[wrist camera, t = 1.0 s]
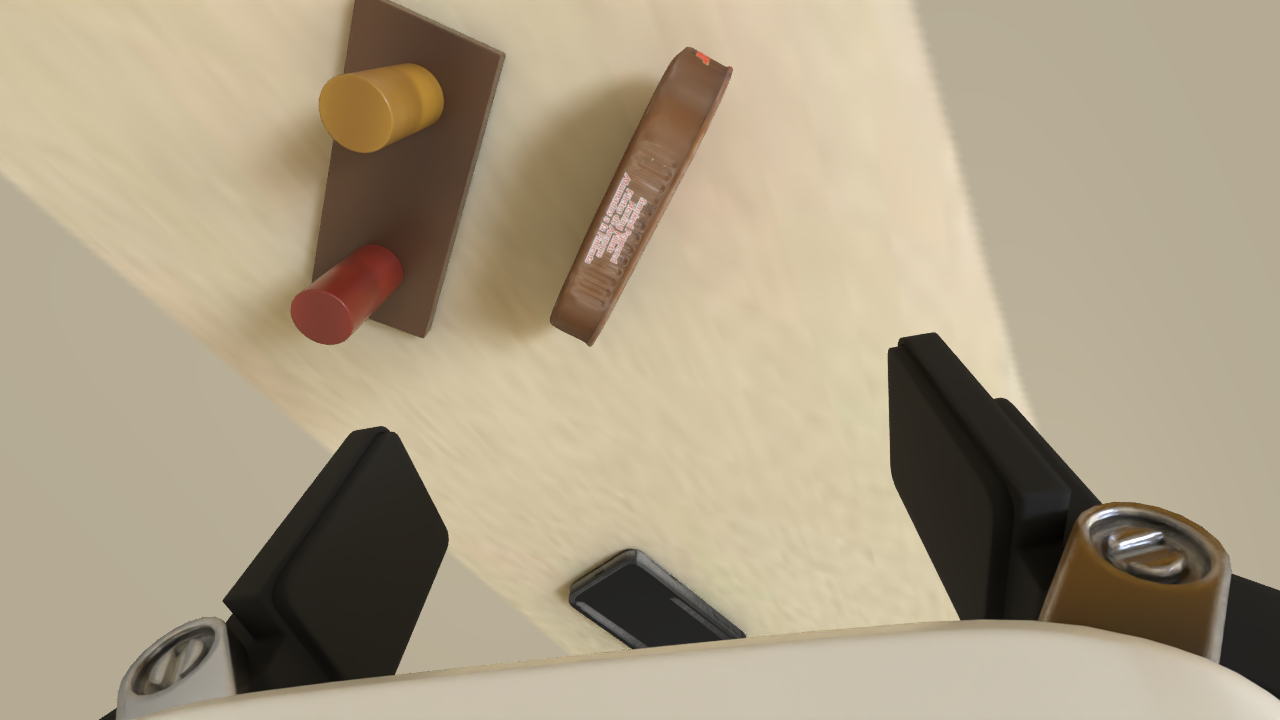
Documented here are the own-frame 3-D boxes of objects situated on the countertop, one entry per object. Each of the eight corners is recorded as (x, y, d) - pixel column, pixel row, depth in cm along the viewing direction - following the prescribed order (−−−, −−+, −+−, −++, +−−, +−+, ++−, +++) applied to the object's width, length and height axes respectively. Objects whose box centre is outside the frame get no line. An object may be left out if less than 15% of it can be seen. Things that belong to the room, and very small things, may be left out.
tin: (604, 308, 37) (589, 380, 30) (557, 286, 36) (529, 354, 29) (730, 65, 30) (752, 81, 23) (675, 33, 29) (678, 38, 22)
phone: (683, 685, 54) (562, 600, 48) (683, 673, 55) (564, 588, 49) (754, 649, 51) (633, 555, 46) (752, 637, 52) (634, 544, 47)
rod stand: (318, 289, 37) (241, 350, 30) (367, -11, 29) (276, -19, 22) (430, 330, 38) (379, 398, 31) (506, 53, 30) (460, 64, 23)
